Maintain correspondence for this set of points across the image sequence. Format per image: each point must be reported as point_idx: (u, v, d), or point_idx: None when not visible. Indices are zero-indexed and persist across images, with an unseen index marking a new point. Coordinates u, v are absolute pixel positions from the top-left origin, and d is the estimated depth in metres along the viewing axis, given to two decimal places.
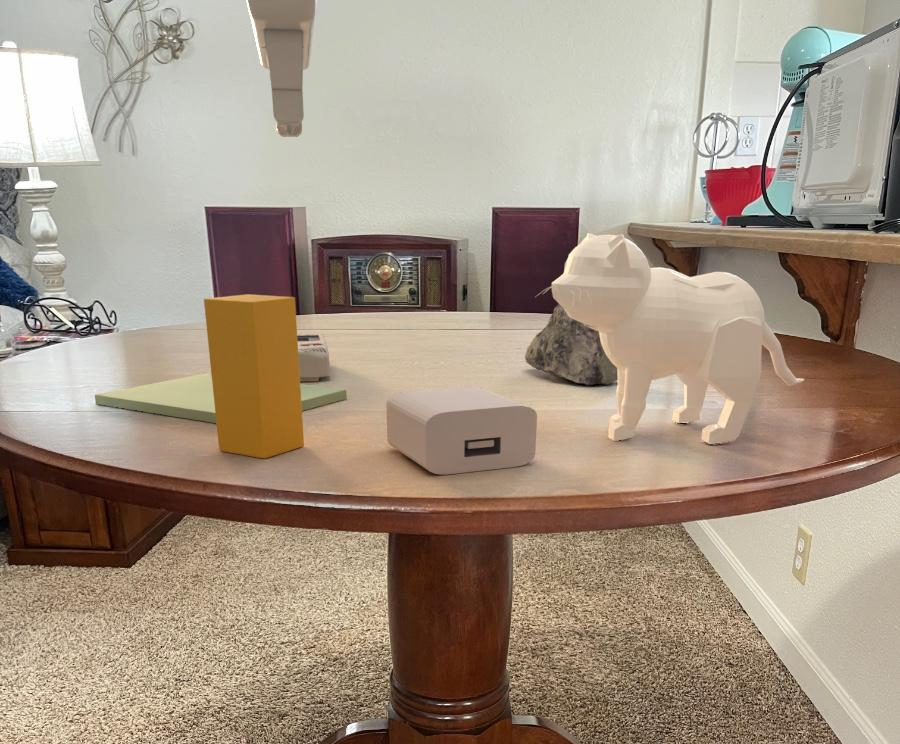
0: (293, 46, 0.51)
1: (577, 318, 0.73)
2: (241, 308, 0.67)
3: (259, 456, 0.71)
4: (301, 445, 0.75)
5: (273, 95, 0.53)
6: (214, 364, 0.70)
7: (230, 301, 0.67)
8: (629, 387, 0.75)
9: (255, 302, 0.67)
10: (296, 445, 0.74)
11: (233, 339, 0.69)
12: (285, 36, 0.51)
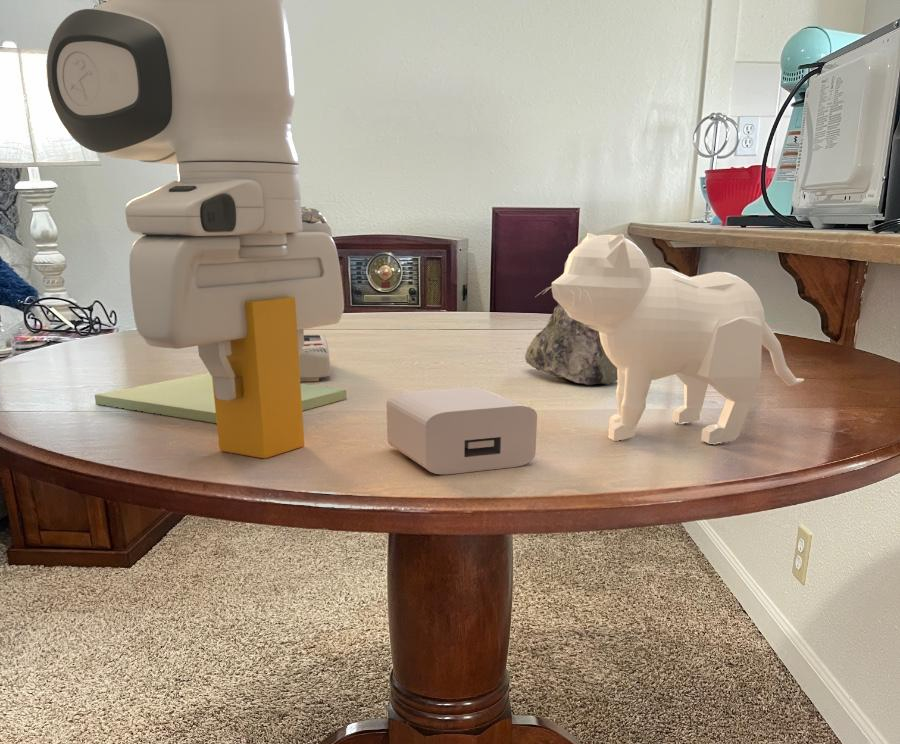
0: (213, 352, 0.67)
1: (577, 318, 0.73)
2: None
3: (259, 456, 0.71)
4: (301, 445, 0.75)
5: None
6: None
7: None
8: (629, 387, 0.75)
9: (255, 302, 0.67)
10: (296, 445, 0.74)
11: None
12: (208, 345, 0.67)
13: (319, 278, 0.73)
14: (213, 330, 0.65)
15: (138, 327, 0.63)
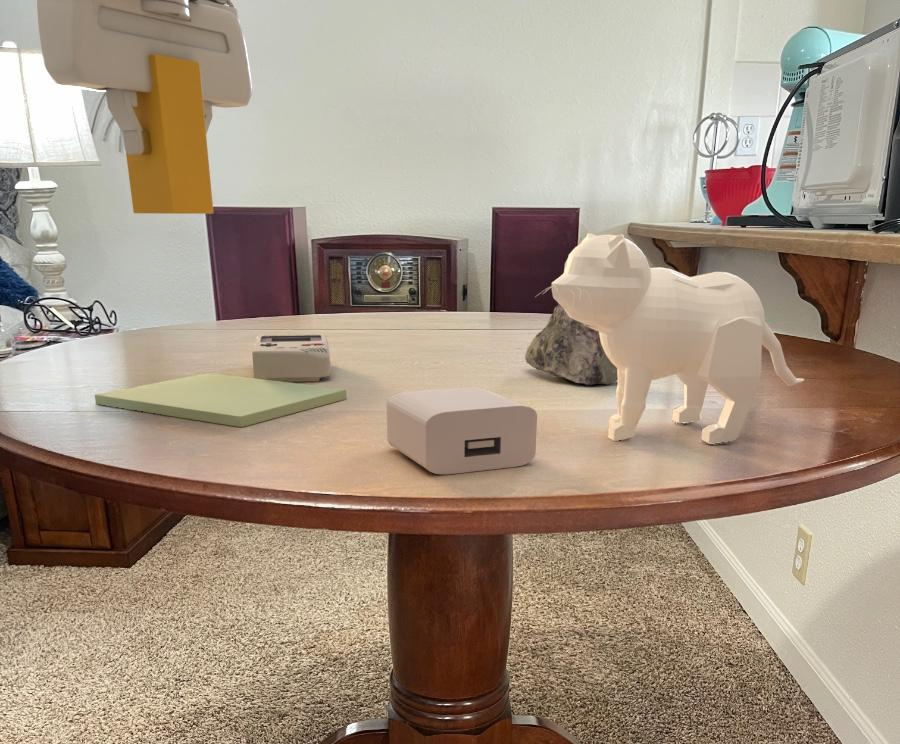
0: (119, 101, 0.73)
1: (577, 318, 0.73)
2: None
3: (168, 211, 0.78)
4: (210, 211, 0.81)
5: (123, 135, 0.76)
6: None
7: None
8: (629, 387, 0.75)
9: (158, 55, 0.73)
10: (205, 210, 0.80)
11: (140, 95, 0.75)
12: (115, 95, 0.73)
13: (225, 54, 0.80)
14: (117, 73, 0.71)
15: (46, 64, 0.69)
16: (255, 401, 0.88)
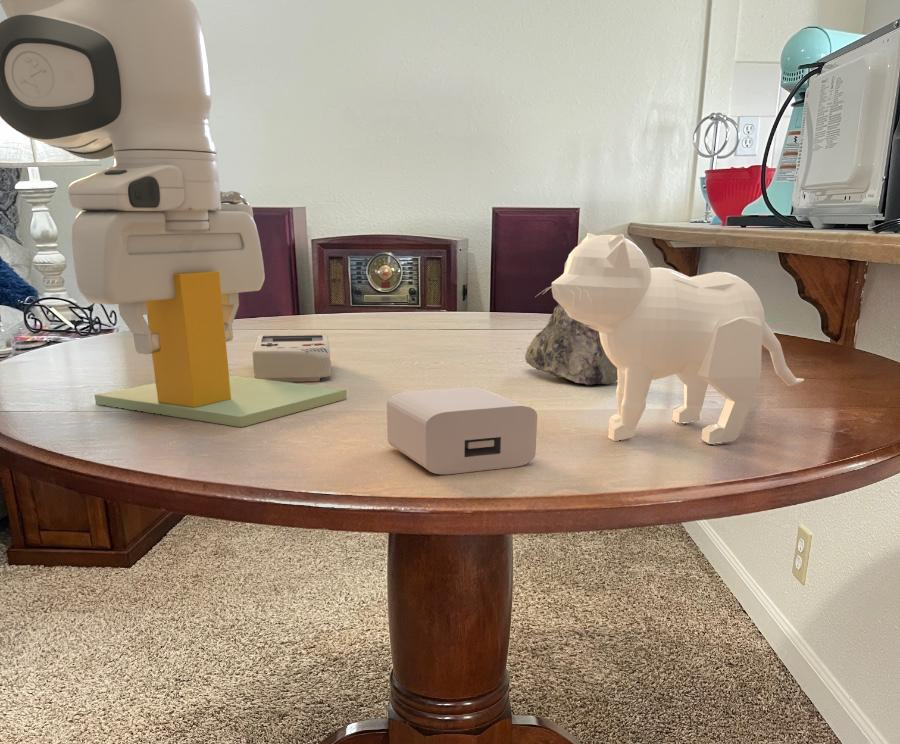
0: (131, 311, 0.79)
1: (577, 318, 0.73)
2: None
3: (190, 405, 0.85)
4: (228, 398, 0.88)
5: (134, 336, 0.81)
6: (151, 327, 0.84)
7: None
8: (629, 387, 0.75)
9: (183, 274, 0.80)
10: (223, 398, 0.88)
11: (166, 306, 0.82)
12: (127, 305, 0.79)
13: (240, 251, 0.87)
14: (143, 290, 0.78)
15: (80, 287, 0.76)
16: (255, 401, 0.88)
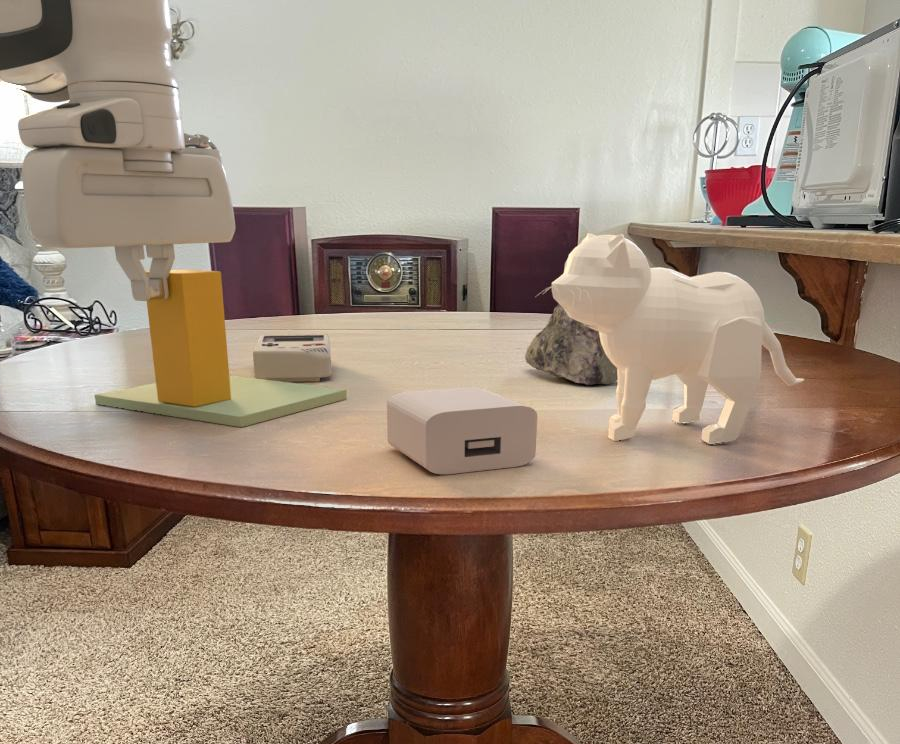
0: (127, 255, 0.77)
1: (577, 318, 0.73)
2: (173, 278, 0.81)
3: (190, 405, 0.85)
4: (228, 398, 0.88)
5: (131, 283, 0.79)
6: (152, 327, 0.84)
7: None
8: (629, 387, 0.75)
9: (184, 274, 0.80)
10: (224, 398, 0.88)
11: (167, 305, 0.82)
12: (123, 249, 0.77)
13: (207, 198, 0.82)
14: (100, 234, 0.73)
15: (32, 230, 0.71)
16: (255, 401, 0.88)
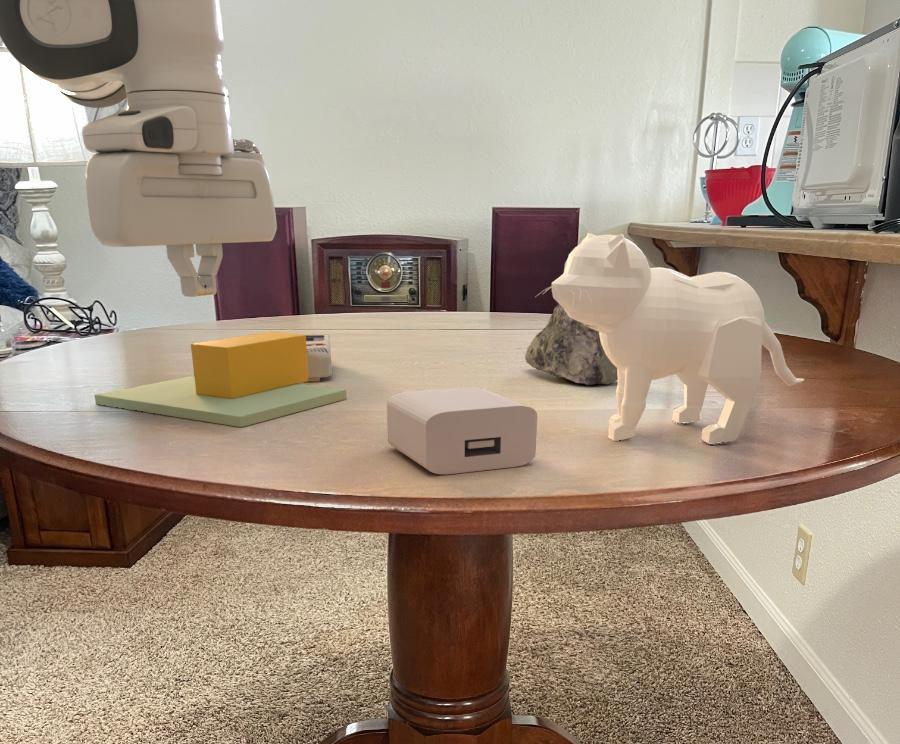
0: (179, 253, 0.82)
1: (577, 318, 0.73)
2: (295, 334, 0.96)
3: (224, 347, 0.87)
4: (232, 394, 0.89)
5: (180, 280, 0.84)
6: (243, 336, 0.94)
7: (290, 333, 0.97)
8: (629, 387, 0.75)
9: (305, 338, 0.96)
10: (232, 388, 0.88)
11: (272, 335, 0.95)
12: (175, 248, 0.82)
13: (252, 199, 0.86)
14: (157, 234, 0.78)
15: (94, 229, 0.76)
16: (255, 401, 0.88)
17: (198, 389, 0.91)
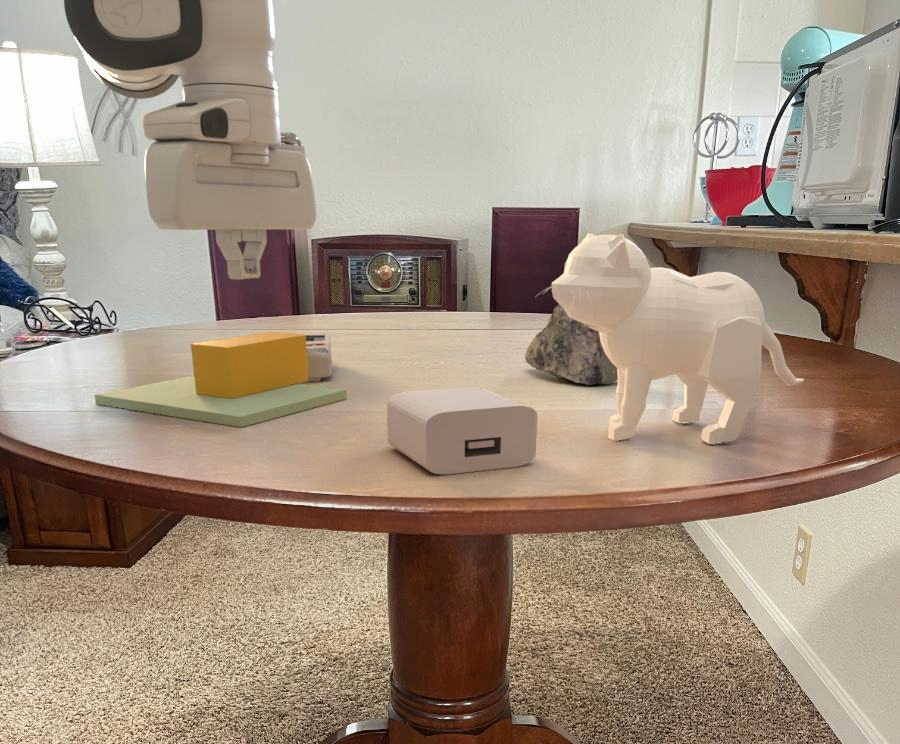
0: (227, 238, 0.87)
1: (577, 318, 0.73)
2: (295, 334, 0.96)
3: (224, 347, 0.87)
4: (232, 394, 0.89)
5: (227, 263, 0.89)
6: (243, 336, 0.94)
7: (290, 333, 0.97)
8: (629, 387, 0.75)
9: (305, 338, 0.96)
10: (232, 388, 0.88)
11: (272, 335, 0.95)
12: (223, 232, 0.87)
13: (295, 188, 0.91)
14: (209, 218, 0.83)
15: (151, 213, 0.81)
16: (255, 401, 0.88)
17: (198, 389, 0.91)
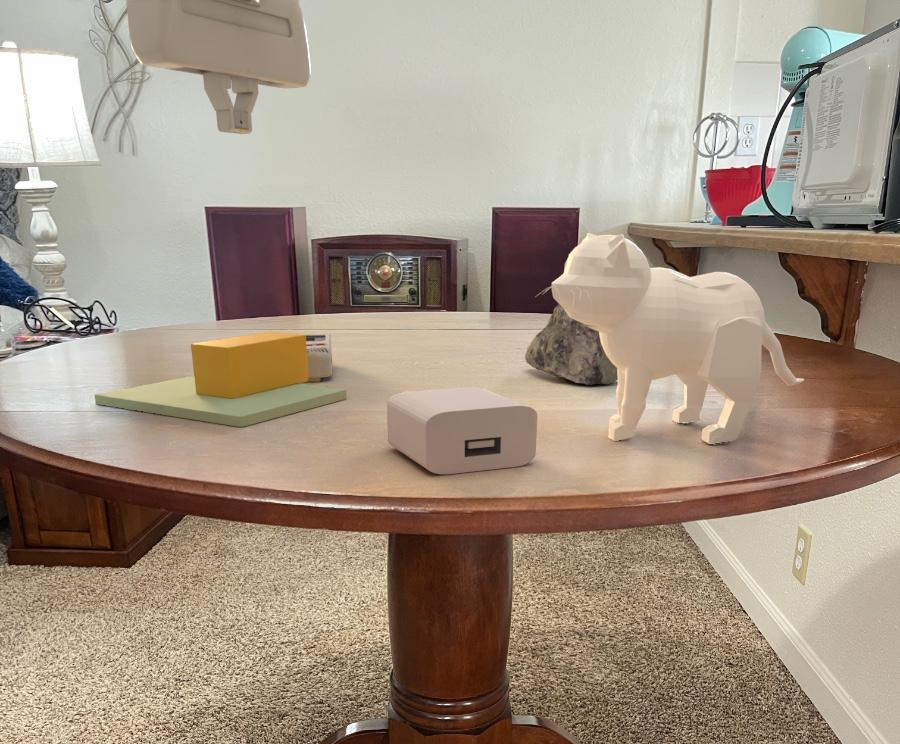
0: (216, 83, 0.81)
1: (577, 318, 0.73)
2: (295, 334, 0.96)
3: (224, 347, 0.87)
4: (232, 394, 0.89)
5: (216, 114, 0.84)
6: (243, 336, 0.94)
7: (290, 333, 0.97)
8: (629, 387, 0.75)
9: (305, 338, 0.96)
10: (232, 388, 0.88)
11: (272, 335, 0.95)
12: (212, 77, 0.81)
13: (288, 38, 0.86)
14: (196, 54, 0.77)
15: (133, 45, 0.75)
16: (255, 401, 0.88)
17: (198, 389, 0.91)
